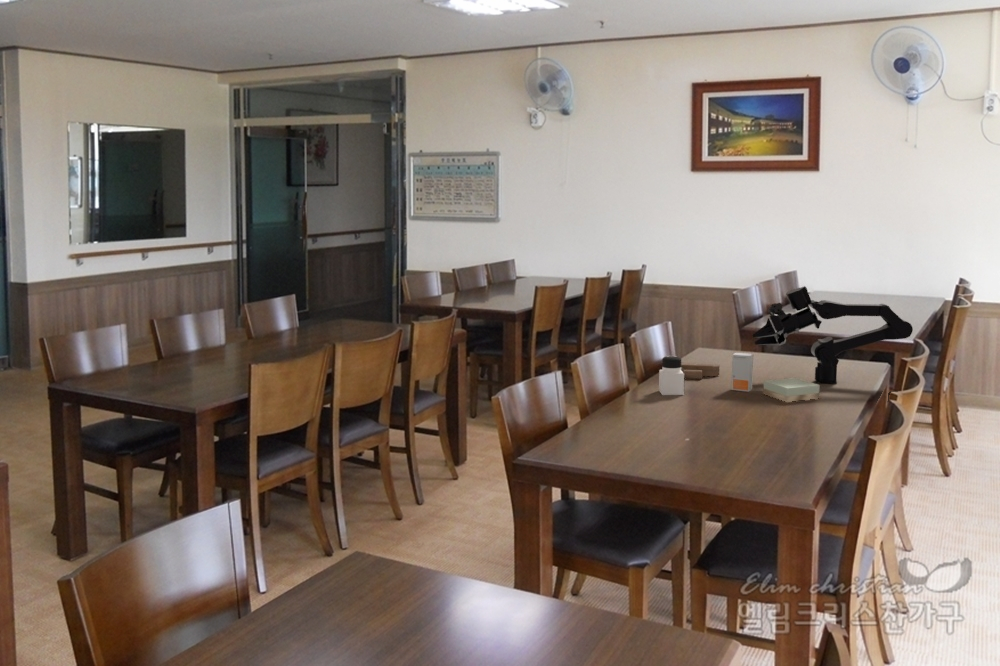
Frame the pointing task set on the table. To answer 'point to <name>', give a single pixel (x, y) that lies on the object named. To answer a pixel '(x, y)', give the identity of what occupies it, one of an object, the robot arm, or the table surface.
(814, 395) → the bottom slab
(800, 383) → the top slab
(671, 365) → the medicine bottle
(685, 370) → the wooden block set
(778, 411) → the table surface
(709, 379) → the table surface
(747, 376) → the skincare box
